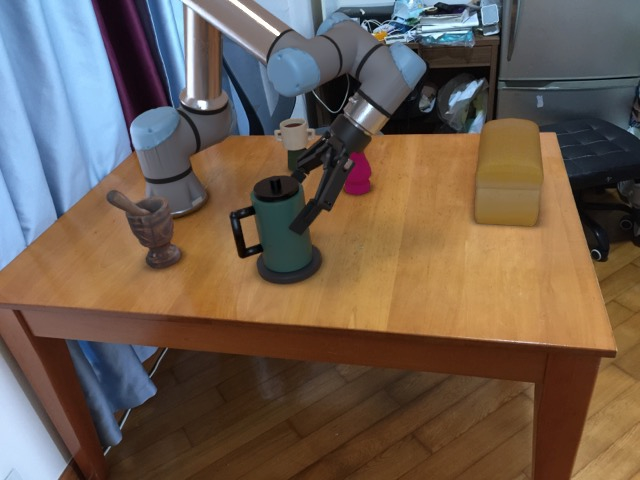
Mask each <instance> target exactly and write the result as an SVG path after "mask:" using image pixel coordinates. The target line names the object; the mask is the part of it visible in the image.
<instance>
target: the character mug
mask: <svg viewBox="0 0 640 480" xmlns="http://www.w3.org/2000/svg"><path fill="white" fill-rule="evenodd" d="M273 133H274V139H275V141H276V142H278V143H279V142H281V144H282V147H283V148H284V149H285V150H286V151H287V155H286V157H287V169H288V170H289V171H292V172H293V171H294V170H295V169H296V165H297V162H296V159H297V157H299V156H300V155H301V154H302V153H303V152H304V151H306V150H307V149H308V148H307V147H308V145H310V144H309V143H310V142H312V141H316V140H317V139H316V138H317V137H316V130H315V128H308V122H307V120H306V119H305V118H302V117H292V118H287V119H285V120H282V121H281V122H280V123H279V129H275V130H274V131H273ZM309 133H310V134H311V136H309V135H310V134H309ZM279 134H280V137H279Z"/></svg>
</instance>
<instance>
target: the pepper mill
mask: <svg viewBox="0 0 640 480" xmlns="http://www.w3.org/2000/svg"><path fill="white" fill-rule="evenodd" d="M364 151H365V150H364ZM364 151H363V152H362V153H360V154H358V153H356V152H353V153H352V154H351V156H350V159H351V160H353V161H354V162H355V163H356V165H355V167H354V168H353V169H352V171H351V172H350V174H349V175H348V177H347V179H346V181H345V183H344V191H345V192H346V193H347V194H349V195H354V196H358V195H363V194H366V193H368V192H369V191H370V190H371V180H370V179H371V177H372V167H371V164H370V162H369V160H368V158H367V157H366V155H365V152H364Z"/></svg>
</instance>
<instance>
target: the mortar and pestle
mask: <svg viewBox="0 0 640 480" xmlns="http://www.w3.org/2000/svg"><path fill="white" fill-rule="evenodd" d="M105 198H106V201H107V203H109V204H110V205H112V206H113V207H115V208H116V209H119V210H122V211H123V212H125V218H126V220H127V223H128V225H129V228H130V230H131V232H132V235H133V236H135V238H136V239H137V240H138V242H139V244H140V245H141V246H142V247H144V248H148V252H147V254H146V256H145V264H146V265H147V266H149V267H150V268H152V269H158V270H159V269H164V268H168V267H170V266H172V265H174V264H176V263H177V262H178V261H179V260H180V258H181V257H182V252H181V250H180V248H179V246H178V245H177V244H174V243H171V241H172V239H173V237H174V233H175V231H174V227H175V226H174V225H175V224H174V218H172V215H171V212H170V208H169V205H168V200H167V199H165V198H163V197H149V198H145V197H144V198H141V199H139V200H136V201H135V202H133V201H131V199H130V198H129V197H127V196H126V195H125V194H124V193H122V192H121V191H119V190H116V189H111V190H109V191H108V192H107V193H106V196H105Z"/></svg>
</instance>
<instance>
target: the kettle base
mask: <svg viewBox="0 0 640 480" xmlns="http://www.w3.org/2000/svg"><path fill="white" fill-rule="evenodd" d="M311 244H312V251H313V257H312V260H311V261H310V262H309V263H308V264H307V265H306V266H304V267H303V268H301V269H298V270H295V271H291V272H276V271H272V270H270V269H268V268H267V267H266V266H265V264H264V261H263V256H262V253H259V255H258V256H257V259H256V270H257V273H258V275H259V277H260V278H262V280H264V281H266V282H267V283H271V284H275V285H292V284H297V283H301V282H303V281H306V280H308V279H309V278H311V277H313V276H314V275H315V274H316V273H317V272H318V271H319V270H320V268H321V267H322V255H321V251H320V249H319V248H318V247H317V246H316V245H314V244H313V243H311Z"/></svg>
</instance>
